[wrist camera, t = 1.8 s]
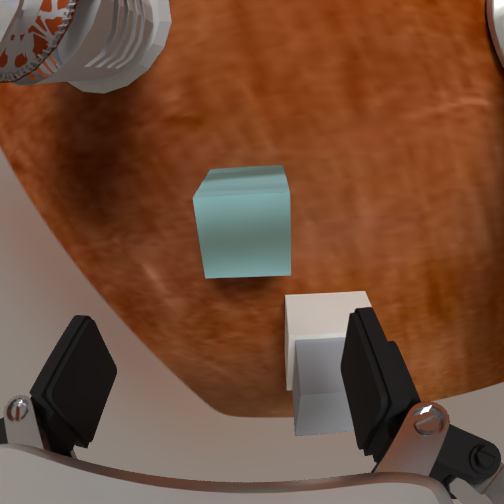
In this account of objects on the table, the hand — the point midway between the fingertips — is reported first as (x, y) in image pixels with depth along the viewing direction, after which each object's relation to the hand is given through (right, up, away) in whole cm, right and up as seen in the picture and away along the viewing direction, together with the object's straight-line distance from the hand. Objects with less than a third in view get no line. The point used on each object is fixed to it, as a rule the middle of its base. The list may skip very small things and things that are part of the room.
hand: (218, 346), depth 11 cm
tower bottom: (+8, -3, +17) cm, 19 cm away
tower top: (+7, -6, +13) cm, 16 cm away
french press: (-9, +20, +5) cm, 22 cm away
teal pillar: (+1, +7, +12) cm, 14 cm away
